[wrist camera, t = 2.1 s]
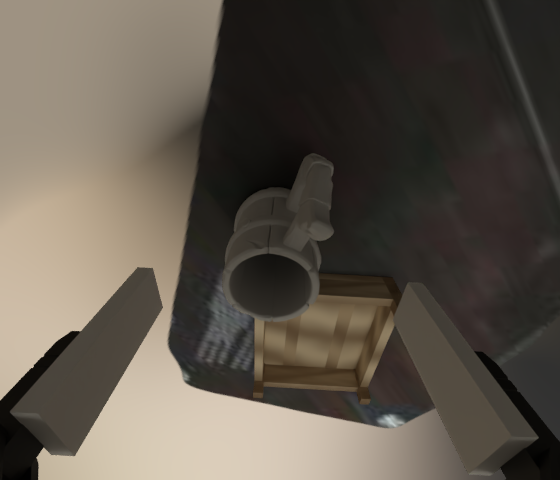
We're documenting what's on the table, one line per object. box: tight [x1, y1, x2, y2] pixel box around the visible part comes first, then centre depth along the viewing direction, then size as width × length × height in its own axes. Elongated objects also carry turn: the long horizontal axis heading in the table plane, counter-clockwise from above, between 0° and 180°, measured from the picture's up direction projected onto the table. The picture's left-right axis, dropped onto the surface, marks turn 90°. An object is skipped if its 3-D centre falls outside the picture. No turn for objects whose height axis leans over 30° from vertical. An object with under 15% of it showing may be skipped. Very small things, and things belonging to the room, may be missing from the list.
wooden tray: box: [253, 273, 402, 404], centre depth 29 cm, size 17×15×5 cm
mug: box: [222, 153, 334, 322], centre depth 18 cm, size 8×12×12 cm, turn 155°
